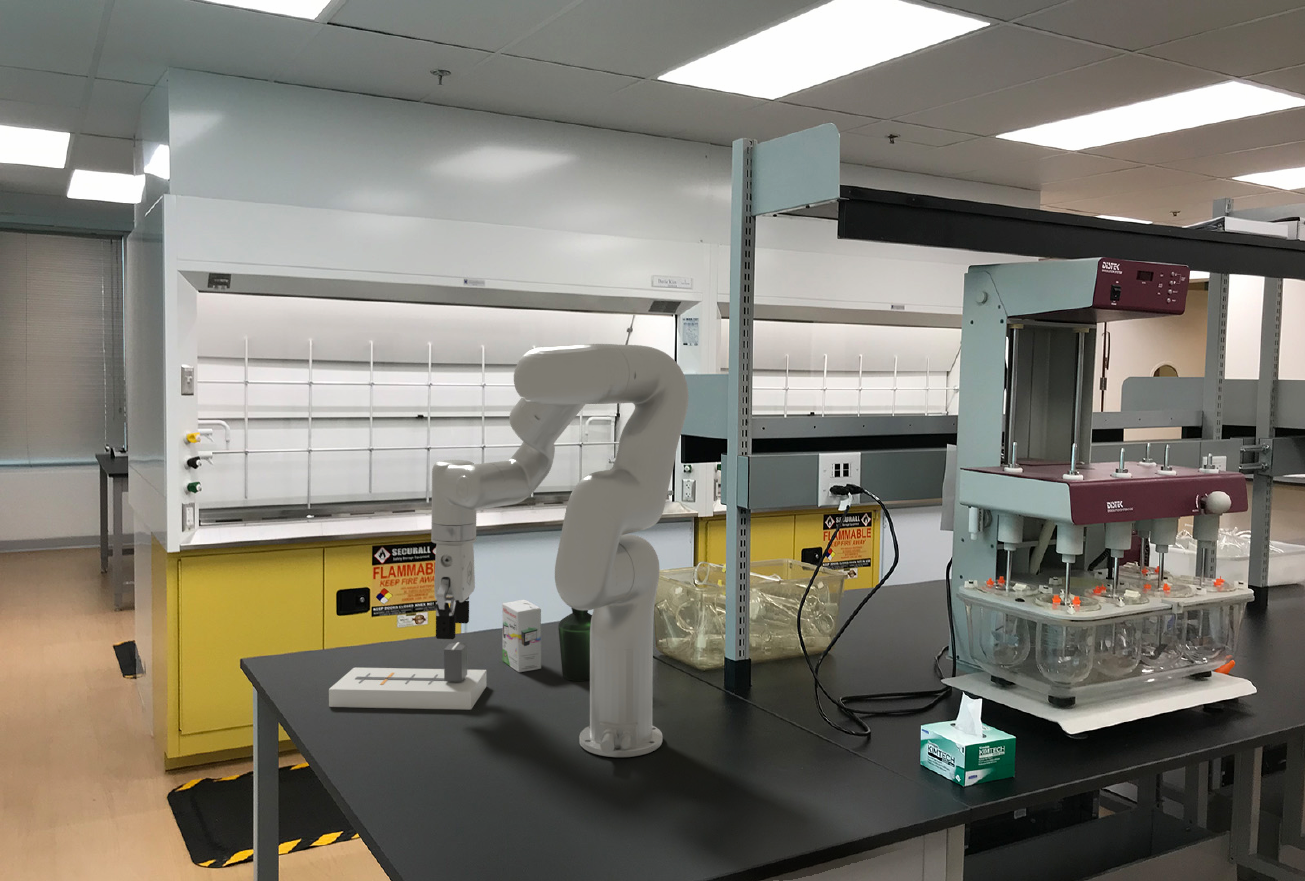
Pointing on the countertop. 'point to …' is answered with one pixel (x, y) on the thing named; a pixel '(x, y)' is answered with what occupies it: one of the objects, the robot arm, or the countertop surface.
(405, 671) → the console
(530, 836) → the countertop surface
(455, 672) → the fader knob
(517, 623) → the ink box
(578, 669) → the potion bottle
